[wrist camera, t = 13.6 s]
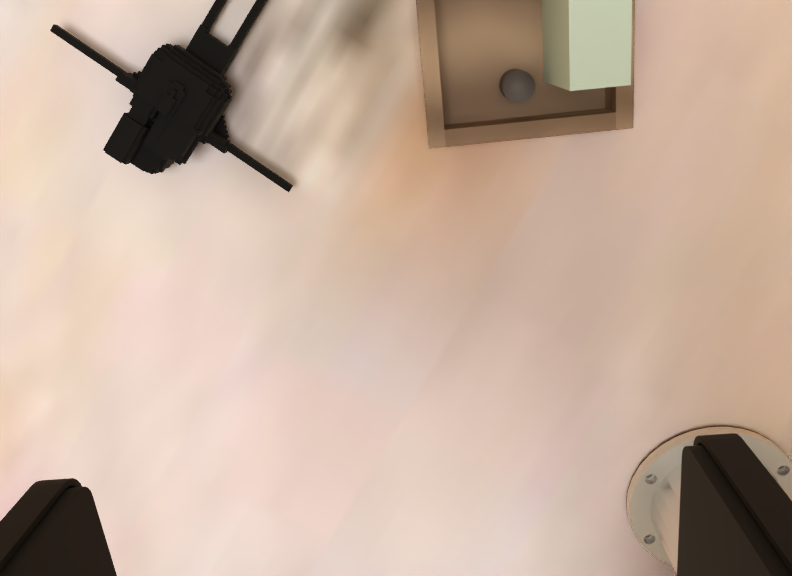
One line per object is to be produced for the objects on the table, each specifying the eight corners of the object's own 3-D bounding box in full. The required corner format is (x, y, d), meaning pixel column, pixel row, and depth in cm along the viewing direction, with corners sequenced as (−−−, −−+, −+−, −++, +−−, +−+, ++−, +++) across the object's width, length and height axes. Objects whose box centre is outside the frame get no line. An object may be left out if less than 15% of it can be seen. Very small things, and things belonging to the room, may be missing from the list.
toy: (151, -129, 41) (36, 86, 44) (121, -155, 36) (-4, 87, 40) (386, 45, 44) (261, 235, 47) (385, 40, 39) (247, 250, 43)
